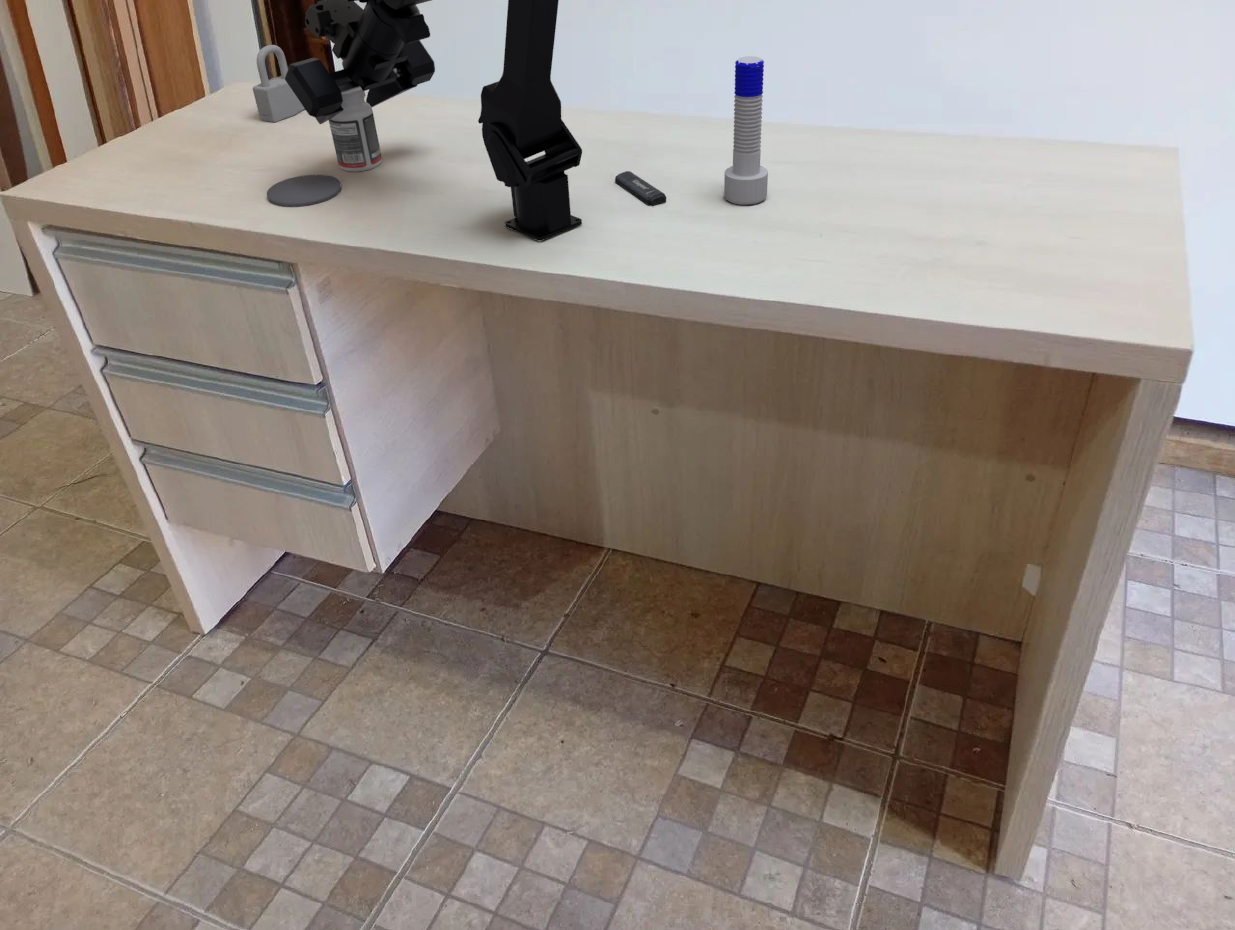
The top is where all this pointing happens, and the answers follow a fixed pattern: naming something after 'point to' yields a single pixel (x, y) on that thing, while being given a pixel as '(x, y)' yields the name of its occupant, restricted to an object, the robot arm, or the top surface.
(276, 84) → the padlock
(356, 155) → the pill bottle
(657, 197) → the usb stick
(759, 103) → the bolt
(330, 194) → the coaster
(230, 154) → the top surface
